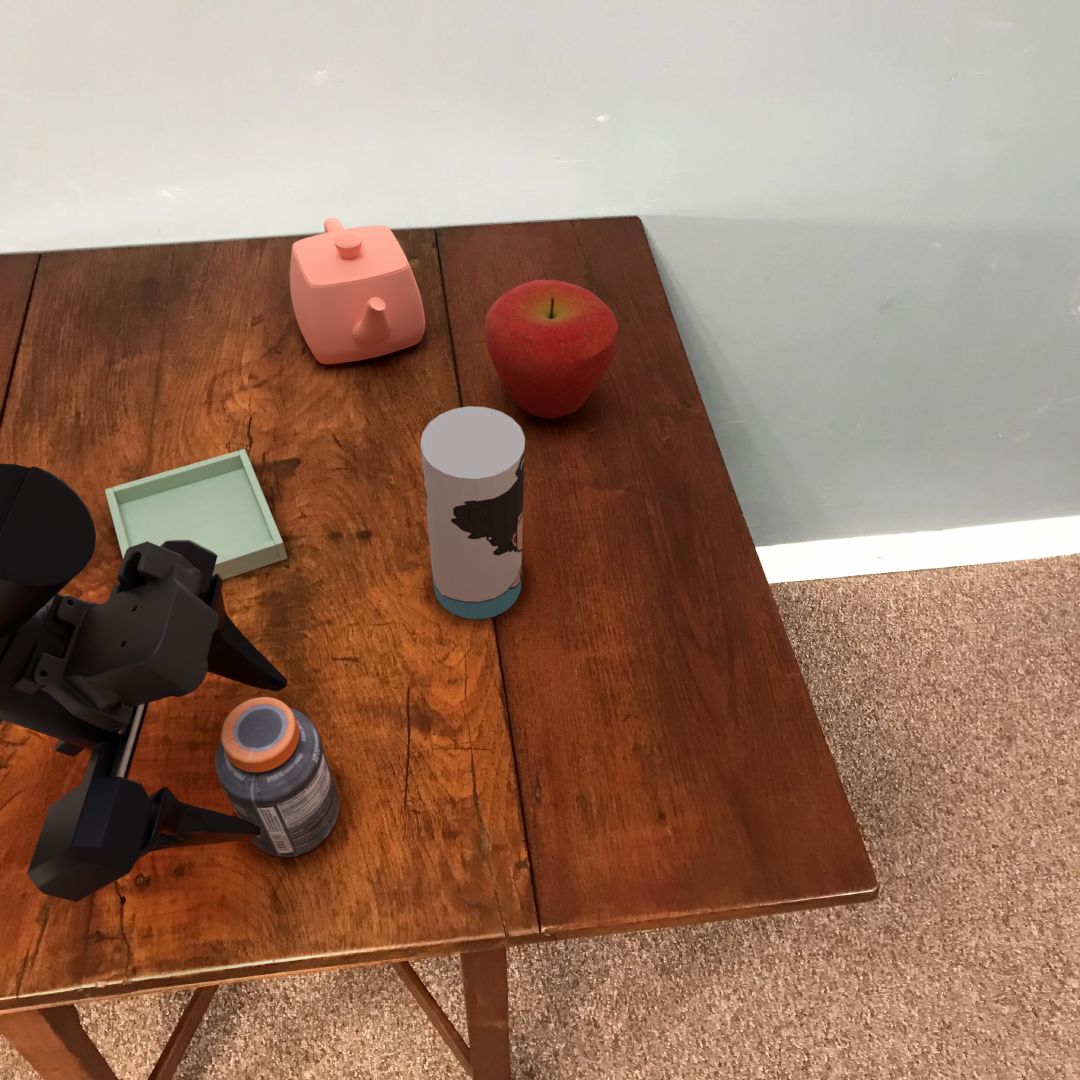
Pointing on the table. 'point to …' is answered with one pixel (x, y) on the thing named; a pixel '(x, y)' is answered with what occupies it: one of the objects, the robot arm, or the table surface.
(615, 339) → the apple
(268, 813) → the pill bottle
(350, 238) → the teapot
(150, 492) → the dish
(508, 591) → the white cylindrical canister
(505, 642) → the table surface
